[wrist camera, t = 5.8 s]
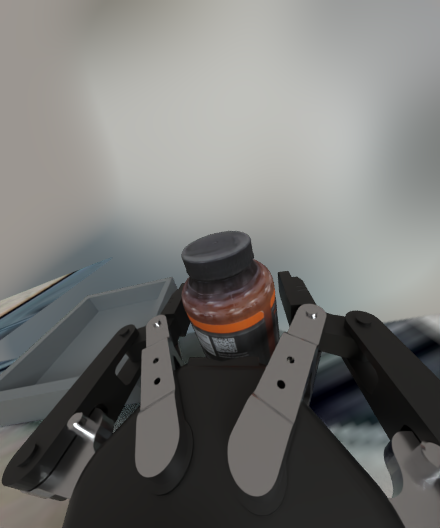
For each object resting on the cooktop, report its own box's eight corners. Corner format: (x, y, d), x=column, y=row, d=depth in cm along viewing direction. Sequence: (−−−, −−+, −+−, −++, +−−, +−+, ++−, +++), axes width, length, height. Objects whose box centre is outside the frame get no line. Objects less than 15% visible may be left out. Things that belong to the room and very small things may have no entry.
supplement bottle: (257, 323, 17) (241, 219, 12) (299, 378, 12) (300, 237, 7) (205, 347, 16) (163, 244, 11) (227, 419, 11) (163, 288, 6)
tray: (180, 295, 25) (172, 276, 23) (150, 400, 13) (130, 377, 11) (100, 312, 26) (87, 295, 24) (1, 426, 14) (-37, 408, 12)
